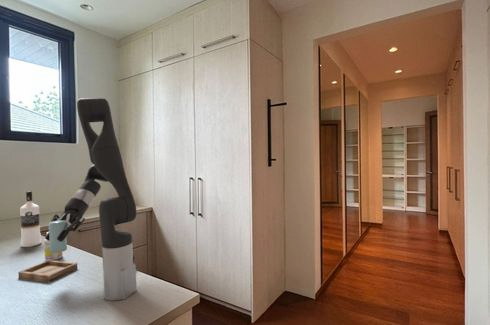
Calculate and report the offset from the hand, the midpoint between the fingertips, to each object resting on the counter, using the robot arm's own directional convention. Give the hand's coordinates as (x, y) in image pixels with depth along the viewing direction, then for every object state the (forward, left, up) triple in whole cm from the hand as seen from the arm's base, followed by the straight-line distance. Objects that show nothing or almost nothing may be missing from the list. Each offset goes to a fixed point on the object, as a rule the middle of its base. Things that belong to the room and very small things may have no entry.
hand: (53, 239), depth 95 cm
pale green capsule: (0, -2, -5) cm, 5 cm away
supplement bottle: (+26, -20, -17) cm, 37 cm away
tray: (+12, -7, -17) cm, 22 cm away
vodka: (+59, -33, -17) cm, 70 cm away
